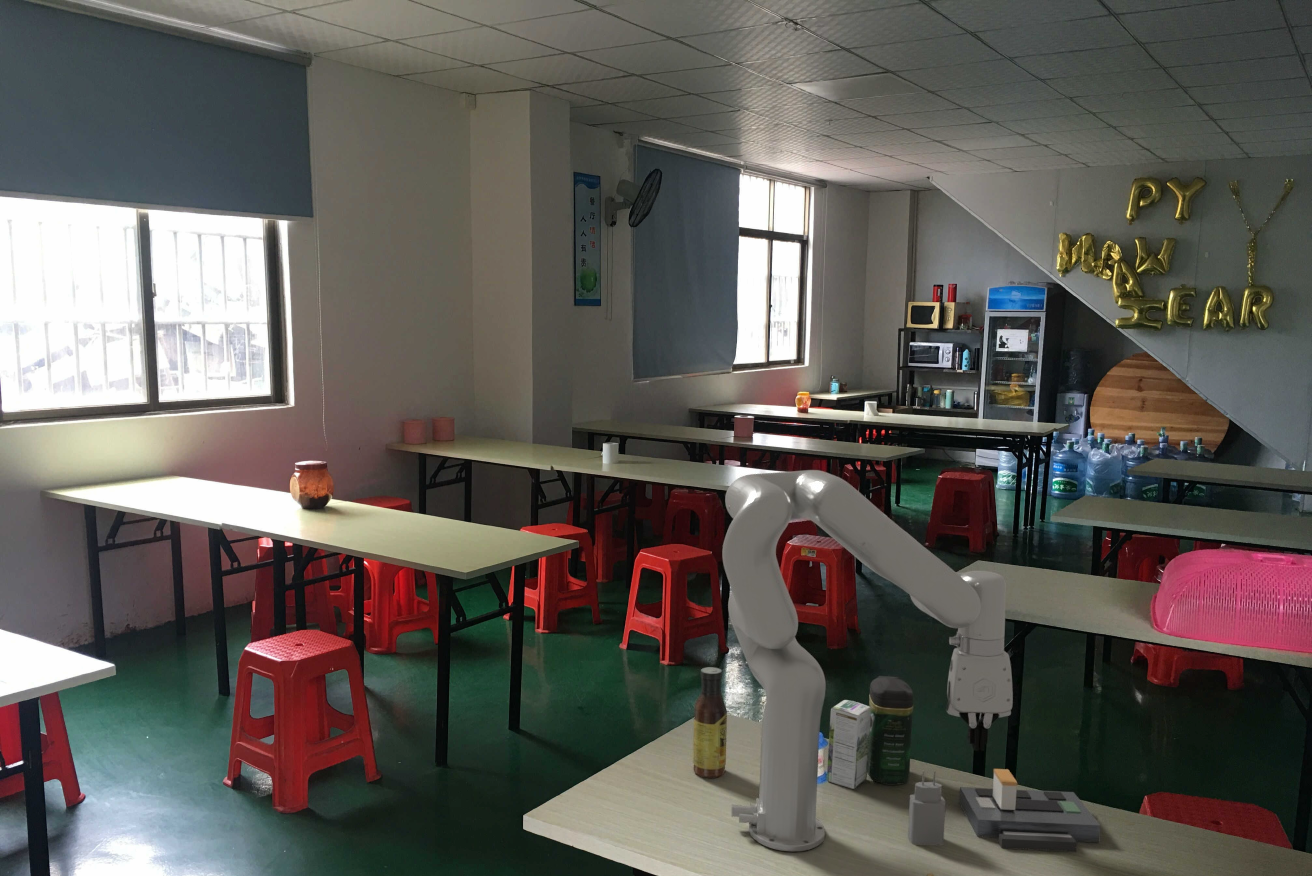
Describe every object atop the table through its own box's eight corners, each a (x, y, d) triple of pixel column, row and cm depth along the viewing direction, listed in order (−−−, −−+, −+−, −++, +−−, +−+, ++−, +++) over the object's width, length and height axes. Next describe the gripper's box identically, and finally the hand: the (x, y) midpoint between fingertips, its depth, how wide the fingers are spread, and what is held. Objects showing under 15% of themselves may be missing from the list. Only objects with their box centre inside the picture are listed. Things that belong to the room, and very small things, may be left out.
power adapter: (906, 835, 164) (910, 766, 162) (938, 835, 164) (942, 766, 162) (911, 844, 161) (915, 774, 159) (944, 845, 161) (948, 775, 159)
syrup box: (839, 770, 188) (842, 697, 186) (868, 779, 184) (871, 705, 183) (826, 781, 183) (829, 706, 181) (855, 790, 180) (858, 714, 178)
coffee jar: (913, 788, 181) (918, 691, 179) (869, 785, 182) (874, 689, 180) (904, 765, 191) (908, 673, 189) (862, 763, 191) (867, 671, 189)
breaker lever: (1000, 809, 166) (1002, 781, 166) (992, 795, 172) (993, 768, 171) (1015, 809, 166) (1017, 782, 166) (1006, 795, 171) (1008, 769, 171)
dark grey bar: (1001, 847, 160) (1002, 838, 160) (996, 838, 163) (996, 829, 163) (1076, 851, 159) (1076, 842, 159) (1069, 842, 162) (1070, 833, 162)
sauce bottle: (726, 779, 183) (729, 677, 181) (692, 778, 183) (695, 676, 181) (724, 764, 189) (727, 665, 187) (692, 763, 189) (694, 664, 187)
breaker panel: (977, 836, 164) (978, 818, 163) (959, 802, 176) (960, 785, 175) (1099, 842, 163) (1100, 824, 162) (1072, 808, 174) (1073, 790, 174)
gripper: (941, 650, 163) (938, 755, 165) (1032, 651, 162) (1028, 757, 164) (931, 636, 171) (928, 737, 173) (1018, 637, 170) (1014, 739, 172)
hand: (977, 747), depth 168 cm, fingers closed
